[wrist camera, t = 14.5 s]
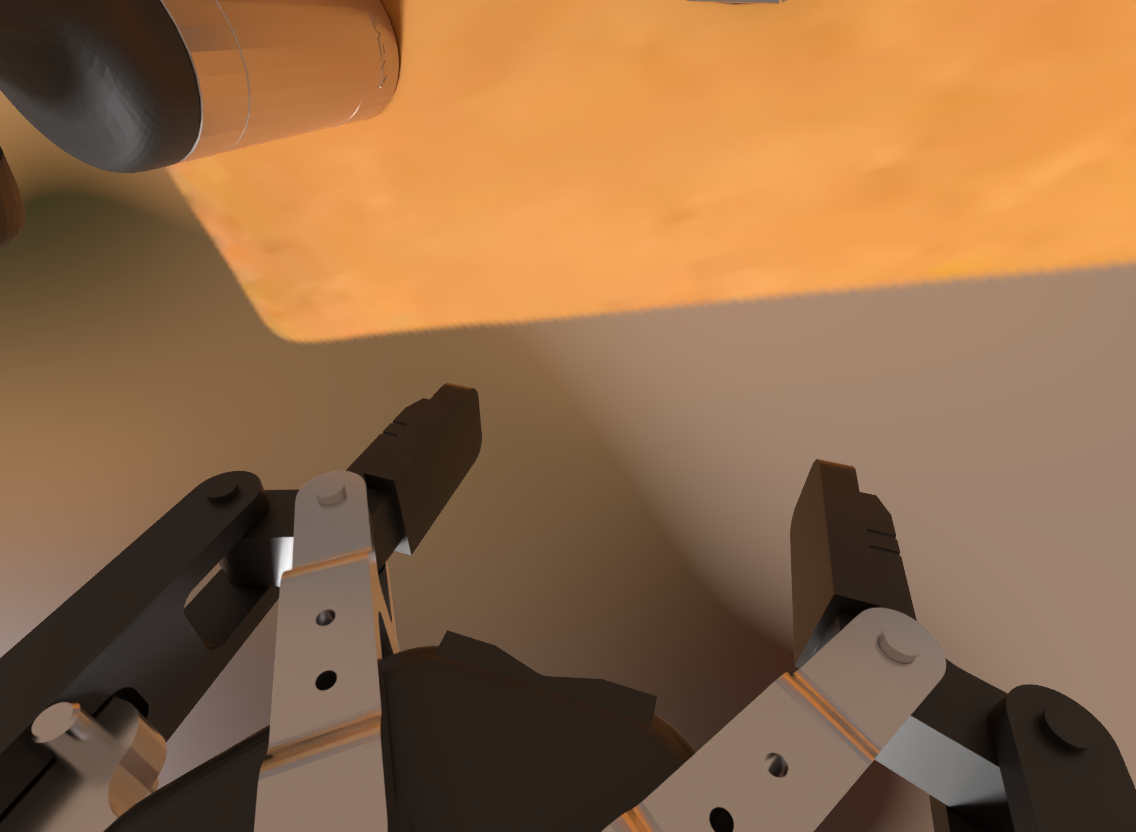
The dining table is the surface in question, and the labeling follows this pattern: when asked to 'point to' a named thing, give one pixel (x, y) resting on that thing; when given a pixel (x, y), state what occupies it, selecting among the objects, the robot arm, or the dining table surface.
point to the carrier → (741, 1)
